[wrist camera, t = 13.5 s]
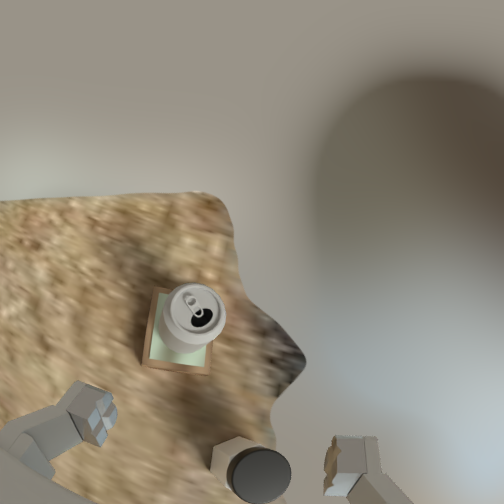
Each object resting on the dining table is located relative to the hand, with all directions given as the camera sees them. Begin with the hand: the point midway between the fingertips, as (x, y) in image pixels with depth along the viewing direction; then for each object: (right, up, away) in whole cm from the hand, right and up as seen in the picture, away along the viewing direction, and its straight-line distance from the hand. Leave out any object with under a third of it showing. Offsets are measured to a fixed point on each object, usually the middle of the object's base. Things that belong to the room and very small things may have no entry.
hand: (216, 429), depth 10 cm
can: (-9, -5, +36) cm, 37 cm away
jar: (-1, -27, +33) cm, 43 cm away
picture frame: (-11, -7, +39) cm, 41 cm away
